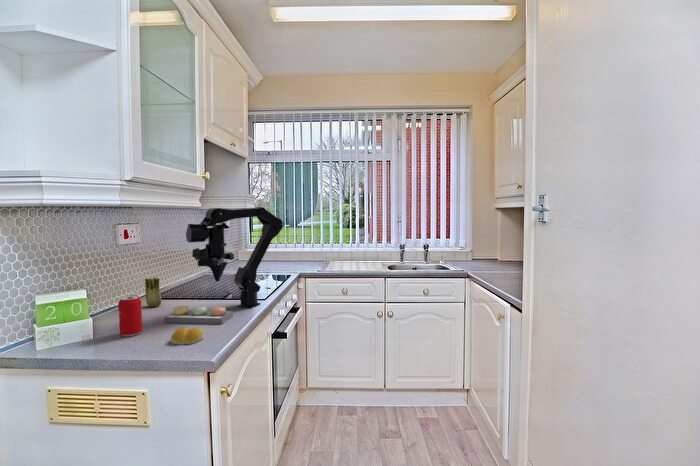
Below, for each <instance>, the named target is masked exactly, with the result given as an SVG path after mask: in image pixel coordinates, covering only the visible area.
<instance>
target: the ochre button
mask: <svg viewBox="0 0 700 466" xmlns="http://www.w3.org/2000/svg"><path fill="white" fill-rule="evenodd" d="M188 310H189V306H188V305H178V306H177V305H176V306H174V307H173V308H172V313H173V314H174V315H183V314H187V313H188Z"/></svg>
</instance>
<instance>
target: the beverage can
mask: <svg viewBox="0 0 700 466" xmlns="http://www.w3.org/2000/svg"><path fill="white" fill-rule="evenodd" d="M117 307H118V325H119V335H120V336H123V337H129V338H130V337H134V336H137V335H140V333H142V332H143V315H142V312H143V310H142V299H141V298H140V296H139V294H138V295H136V294H135V295H134V294H132V295H124V296H121V297H120V298H119V300H118V303H117Z"/></svg>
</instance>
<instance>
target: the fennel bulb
mask: <svg viewBox="0 0 700 466" xmlns="http://www.w3.org/2000/svg"><path fill="white" fill-rule="evenodd" d="M144 283H145V293H144V295H145V300H146V304H147V306H148V307H149V308H157V307H159V306H160V305H161V304H162V294H161V290H160V278H159V277H149V278H148V277H146V278H144Z"/></svg>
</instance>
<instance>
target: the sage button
mask: <svg viewBox="0 0 700 466" xmlns="http://www.w3.org/2000/svg"><path fill="white" fill-rule="evenodd" d="M191 310H192V315H195V316H198V315H204V314H206V313H207V311H208V308H207V306H205V305H198V306H194V307H192V308H191Z"/></svg>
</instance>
